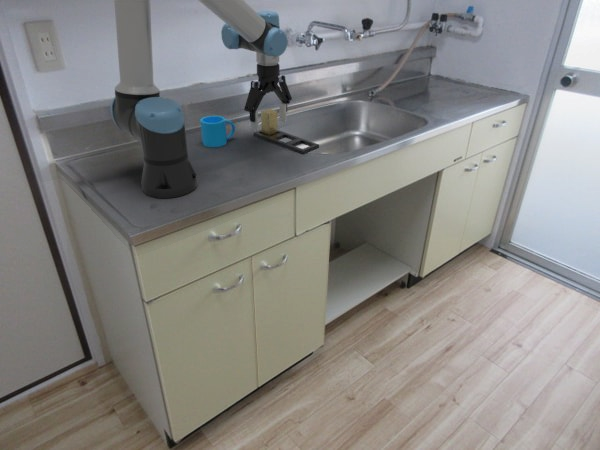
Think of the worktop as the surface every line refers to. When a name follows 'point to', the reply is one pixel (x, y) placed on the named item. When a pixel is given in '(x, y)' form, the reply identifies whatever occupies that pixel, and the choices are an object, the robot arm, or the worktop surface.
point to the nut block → (269, 122)
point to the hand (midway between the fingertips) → (269, 125)
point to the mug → (215, 131)
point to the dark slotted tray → (290, 144)
